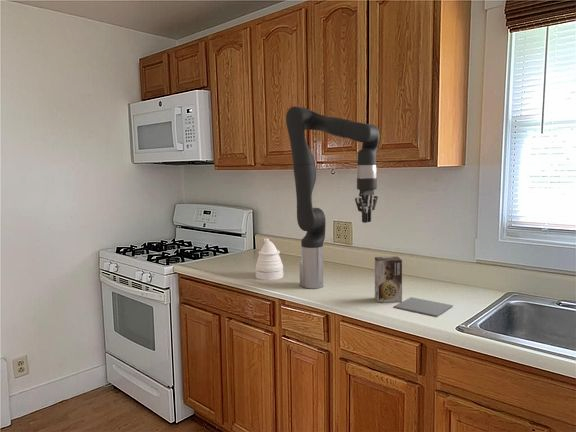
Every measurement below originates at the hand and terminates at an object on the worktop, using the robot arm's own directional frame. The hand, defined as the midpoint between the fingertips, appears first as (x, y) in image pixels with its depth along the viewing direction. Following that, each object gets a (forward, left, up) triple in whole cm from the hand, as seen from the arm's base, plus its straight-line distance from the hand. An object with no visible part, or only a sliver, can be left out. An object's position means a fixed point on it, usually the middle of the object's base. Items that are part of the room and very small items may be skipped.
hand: (366, 222), depth 171 cm
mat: (+24, 0, -29) cm, 37 cm away
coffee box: (+10, 0, -29) cm, 31 cm away
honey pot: (-51, -1, -29) cm, 59 cm away
